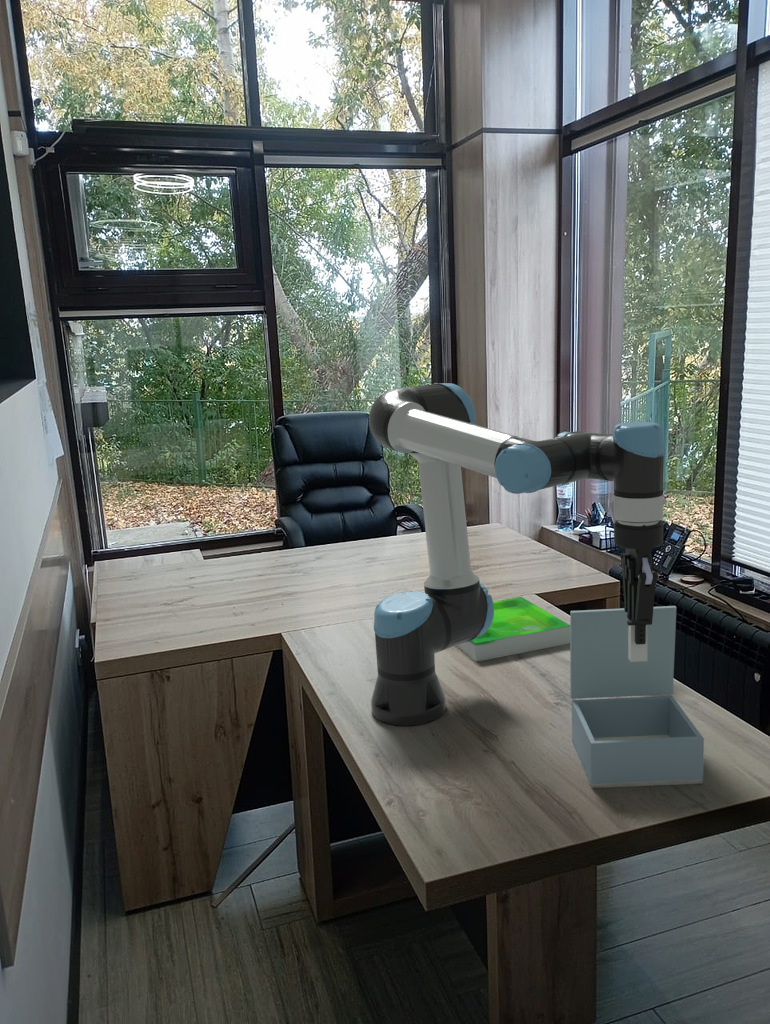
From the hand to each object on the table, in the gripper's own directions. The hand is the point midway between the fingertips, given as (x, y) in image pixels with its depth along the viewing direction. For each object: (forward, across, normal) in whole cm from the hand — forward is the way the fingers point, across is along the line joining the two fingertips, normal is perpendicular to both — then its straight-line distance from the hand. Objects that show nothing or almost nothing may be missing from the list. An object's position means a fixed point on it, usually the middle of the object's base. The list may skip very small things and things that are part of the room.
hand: (637, 659), depth 133 cm
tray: (+21, +66, +16) cm, 71 cm away
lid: (+3, +10, 0) cm, 10 cm away
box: (+20, +3, 0) cm, 20 cm away
